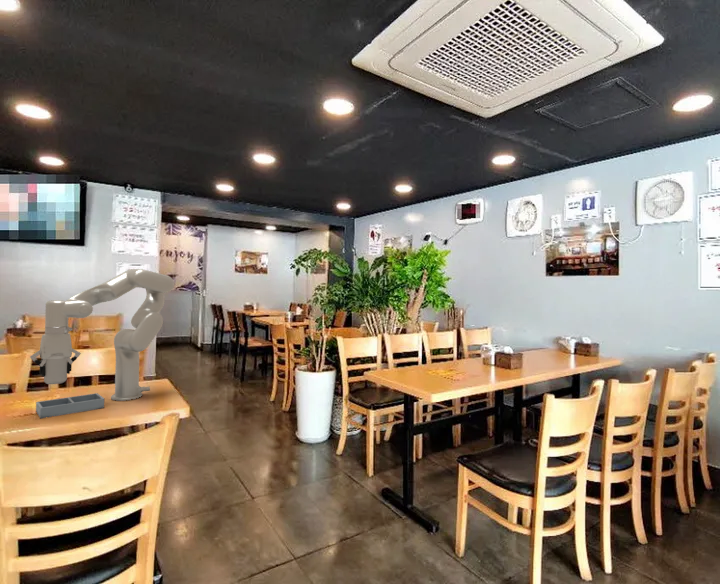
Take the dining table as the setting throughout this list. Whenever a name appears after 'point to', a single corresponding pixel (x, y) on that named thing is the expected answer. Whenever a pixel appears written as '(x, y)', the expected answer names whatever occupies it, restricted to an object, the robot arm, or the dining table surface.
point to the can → (56, 369)
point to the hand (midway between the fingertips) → (55, 374)
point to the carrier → (69, 405)
